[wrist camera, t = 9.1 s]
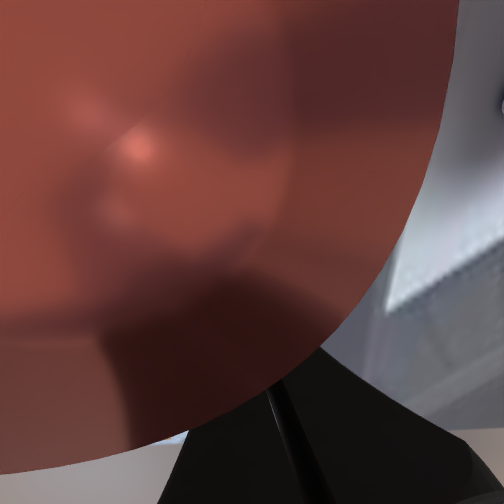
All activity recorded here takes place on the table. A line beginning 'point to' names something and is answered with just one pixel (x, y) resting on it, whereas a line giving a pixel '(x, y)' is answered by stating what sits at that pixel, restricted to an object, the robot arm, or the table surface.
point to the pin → (195, 201)
